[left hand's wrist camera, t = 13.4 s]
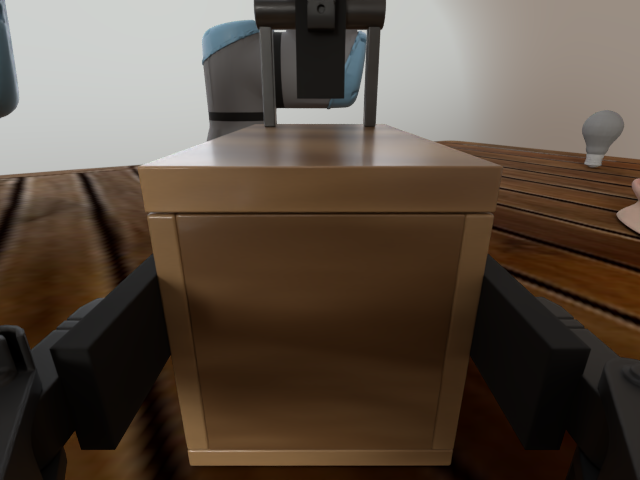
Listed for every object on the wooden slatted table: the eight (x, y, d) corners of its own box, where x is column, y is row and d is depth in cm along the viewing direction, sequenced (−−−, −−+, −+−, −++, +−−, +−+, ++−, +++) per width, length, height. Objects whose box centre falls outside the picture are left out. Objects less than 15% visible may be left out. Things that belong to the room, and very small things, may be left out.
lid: (255, 142, 26) (247, 5, 23) (384, 142, 26) (392, 5, 23) (144, 213, 10) (65, -235, 7) (495, 213, 10) (574, -235, 7)
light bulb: (581, 169, 67) (596, 110, 63) (568, 163, 72) (581, 109, 69) (618, 170, 66) (636, 111, 62) (602, 164, 71) (617, 110, 68)
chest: (261, 262, 29) (254, 142, 26) (378, 262, 29) (385, 143, 26) (189, 466, 13) (144, 215, 10) (451, 466, 13) (495, 214, 10)
